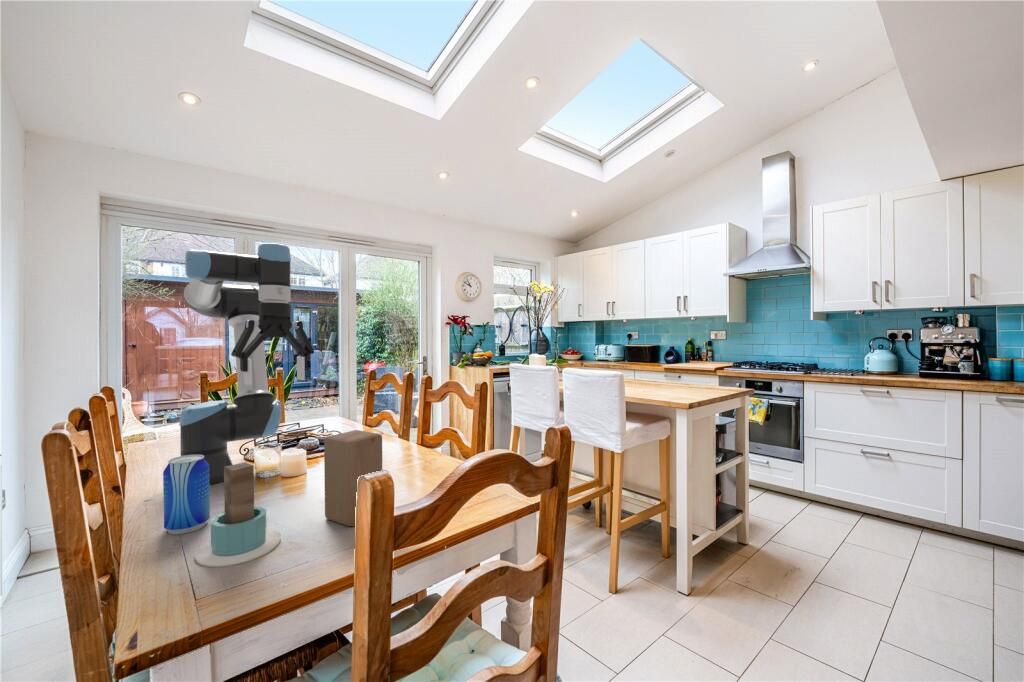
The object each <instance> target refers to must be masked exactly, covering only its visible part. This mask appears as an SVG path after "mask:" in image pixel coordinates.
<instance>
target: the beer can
mask: <svg viewBox="0 0 1024 682" xmlns="http://www.w3.org/2000/svg"><path fill="white" fill-rule="evenodd" d="M162 474H163V475H162V477H163V478H162V483H163V489H162V491H163V528H164V529H165V530H166V531H167V532H168V534H171V535H182V534H183V535H184V534H188V533H192V532H195V531H197V530H198V531H199V530H201V529H202V528H204V527H206V525H207V523H208V522H209V520H210V519H211V518H210V517H211V514H210V513H211V508H210V507H211V506H210V502H211V501H210V496H211V495H210V491H211V490H210V485H209V464H208V463H207V461H206V460H205V459H204V455H185V456H181V455H180V456H176V457H173V458H170V459H169V460H168V462H167V465H166V467H165V468H164V469H163V472H162Z"/></svg>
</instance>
